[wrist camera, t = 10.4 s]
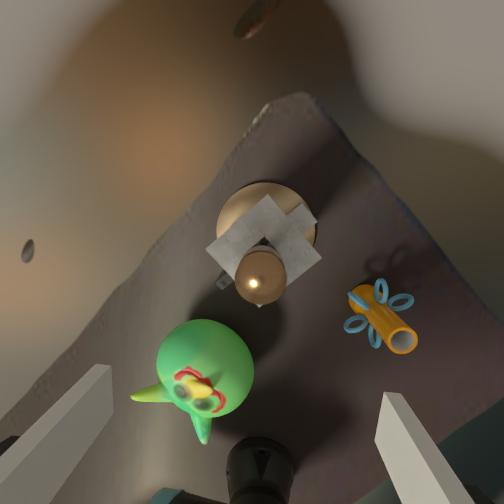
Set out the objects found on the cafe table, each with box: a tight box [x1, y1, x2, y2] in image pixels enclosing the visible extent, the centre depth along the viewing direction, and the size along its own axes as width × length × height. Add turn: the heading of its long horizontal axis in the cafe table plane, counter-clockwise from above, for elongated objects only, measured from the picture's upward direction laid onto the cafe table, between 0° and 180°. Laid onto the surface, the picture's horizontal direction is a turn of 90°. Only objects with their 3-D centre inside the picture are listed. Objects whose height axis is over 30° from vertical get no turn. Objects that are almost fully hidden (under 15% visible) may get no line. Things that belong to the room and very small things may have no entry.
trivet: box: [217, 183, 315, 246], centre depth 49 cm, size 18×18×1 cm
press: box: [206, 194, 322, 307], centre depth 40 cm, size 10×16×17 cm, turn 131°
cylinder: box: [343, 278, 418, 354], centre depth 43 cm, size 12×10×15 cm
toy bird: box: [131, 319, 254, 444], centre depth 48 cm, size 18×17×15 cm
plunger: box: [235, 236, 287, 305], centre depth 32 cm, size 7×7×20 cm
